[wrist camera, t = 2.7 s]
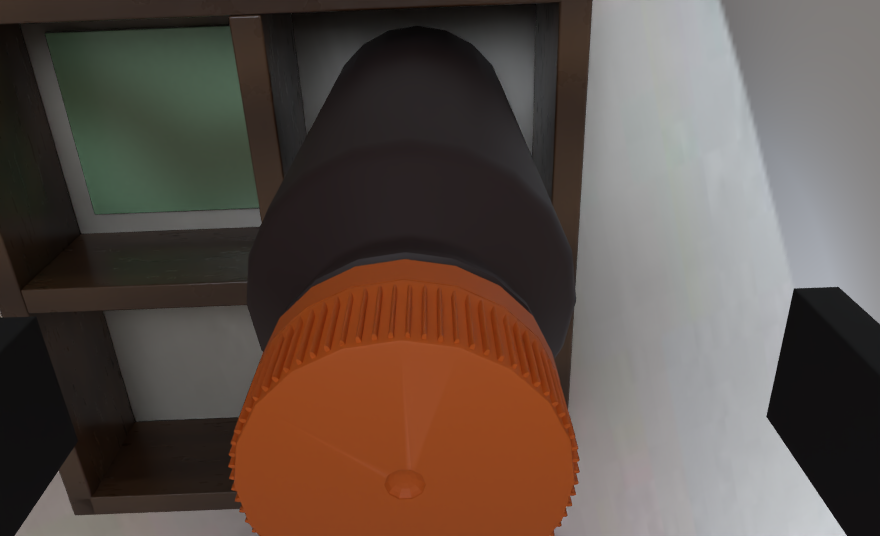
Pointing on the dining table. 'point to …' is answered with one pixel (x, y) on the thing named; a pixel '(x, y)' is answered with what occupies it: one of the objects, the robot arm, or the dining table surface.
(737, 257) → the dining table surface
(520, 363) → the vinegar
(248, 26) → the wooden box with compartments
